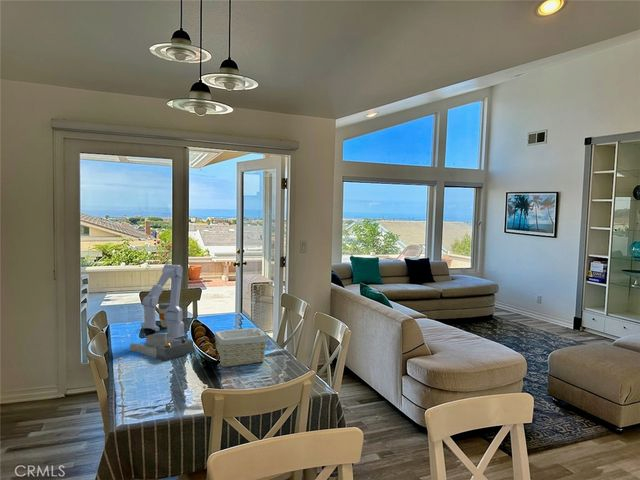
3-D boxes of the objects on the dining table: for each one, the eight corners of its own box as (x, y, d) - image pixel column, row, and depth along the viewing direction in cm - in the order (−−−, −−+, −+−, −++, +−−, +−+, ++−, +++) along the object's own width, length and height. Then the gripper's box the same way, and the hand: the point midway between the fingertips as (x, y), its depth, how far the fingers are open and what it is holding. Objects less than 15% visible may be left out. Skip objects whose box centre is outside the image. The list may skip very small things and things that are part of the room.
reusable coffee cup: (157, 324, 285) (157, 302, 284) (177, 322, 291) (177, 300, 290) (158, 328, 274) (158, 305, 273) (179, 327, 279) (179, 304, 278)
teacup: (152, 354, 225) (152, 339, 225) (141, 350, 232) (141, 335, 231) (175, 348, 236) (175, 333, 236) (164, 344, 243) (164, 330, 242)
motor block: (164, 341, 248) (164, 329, 247) (197, 350, 232) (197, 337, 232) (129, 351, 229) (129, 337, 229) (161, 362, 214) (161, 348, 213)
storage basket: (257, 353, 231) (258, 326, 230) (267, 363, 216) (268, 334, 215) (213, 359, 220) (213, 331, 219) (220, 369, 206) (221, 339, 205)
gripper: (135, 316, 237) (135, 340, 238) (151, 321, 229) (151, 345, 230) (147, 314, 243) (147, 337, 244) (162, 318, 235) (162, 342, 236)
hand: (150, 341), depth 237 cm, fingers closed
